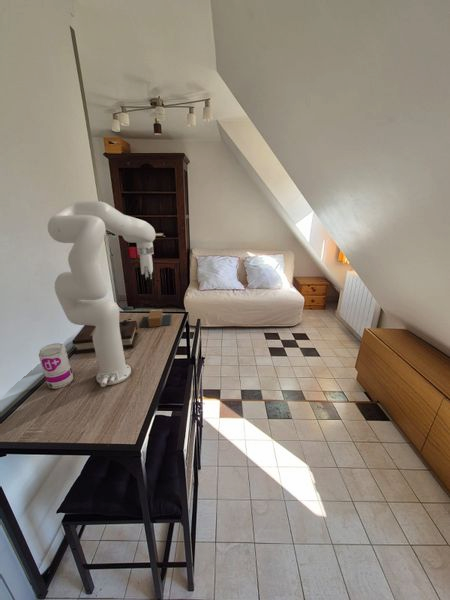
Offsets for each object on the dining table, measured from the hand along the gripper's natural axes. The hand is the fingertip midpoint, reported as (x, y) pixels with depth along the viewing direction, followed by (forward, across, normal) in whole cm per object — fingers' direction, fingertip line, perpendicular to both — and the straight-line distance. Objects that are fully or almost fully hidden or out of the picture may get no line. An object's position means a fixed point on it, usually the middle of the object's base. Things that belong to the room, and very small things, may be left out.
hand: (149, 286), depth 129 cm
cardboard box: (+21, -1, 0) cm, 21 cm away
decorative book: (+24, +12, -21) cm, 34 cm away
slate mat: (+24, -9, 0) cm, 26 cm away
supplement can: (+24, +41, -31) cm, 57 cm away
